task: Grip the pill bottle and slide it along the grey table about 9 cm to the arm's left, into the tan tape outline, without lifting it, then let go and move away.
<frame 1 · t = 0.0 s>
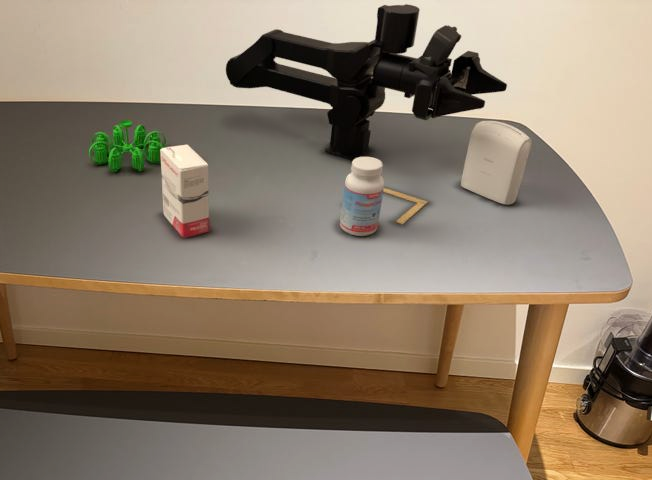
hand: (495, 95, 119), 17 cm above the table, tool horizontal, fingers open, 9 cm apart
tape outline: (384, 206, 125), on the table
pill bottle: (358, 228, 120), on the table
ink box: (186, 224, 121), on the table
chandelier: (128, 159, 139), on the table
photo printer: (487, 194, 129), on the table
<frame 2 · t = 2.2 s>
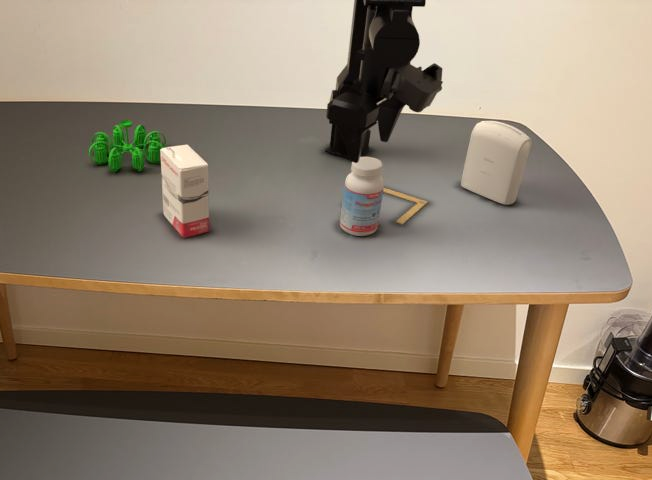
hand: (369, 151, 111), 13 cm above the table, tool pointing down, fingers open, 9 cm apart
nothing on the table moved.
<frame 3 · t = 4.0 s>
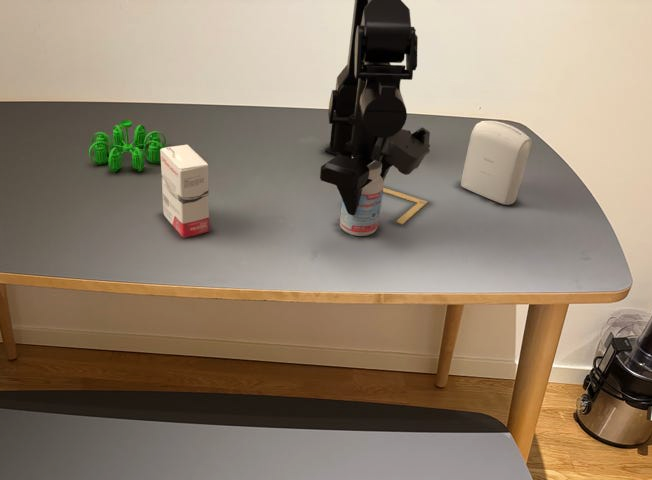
hand: (361, 206, 117), 4 cm above the table, tool pointing down, fingers closed on pill bottle, 6 cm apart
pill bottle: (358, 228, 120), on the table, touching gripper
everything else where it was.
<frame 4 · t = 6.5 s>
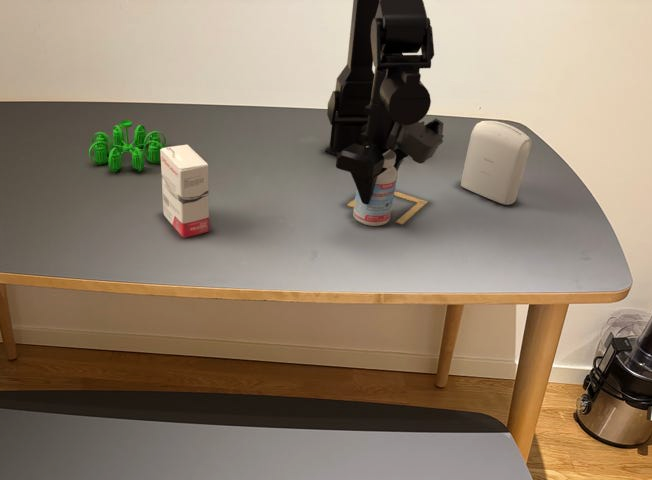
hand: (375, 196, 119), 4 cm above the table, tool pointing down, fingers closed on pill bottle, 6 cm apart
pill bottle: (371, 219, 122), on the table, touching gripper
everything else where it was.
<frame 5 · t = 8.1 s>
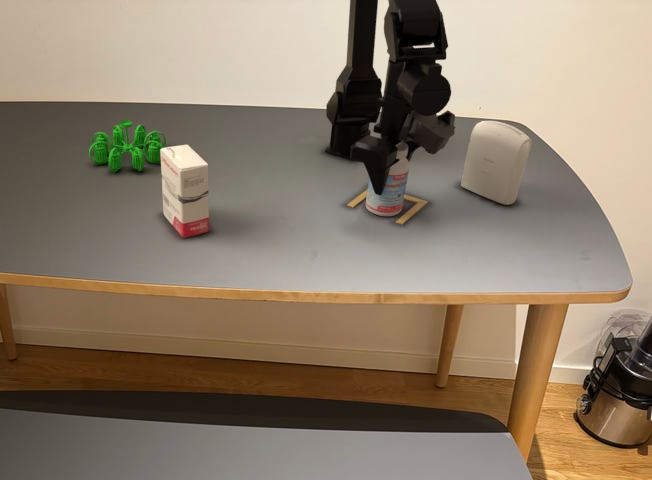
hand: (387, 187, 122), 4 cm above the table, tool pointing down, fingers closed on pill bottle, 6 cm apart
pill bottle: (383, 209, 124), on the table, touching gripper
everything else where it was.
when the fingers open (4 cm above the table, at t = 9.4 s): pill bottle stays where it is, on the table.
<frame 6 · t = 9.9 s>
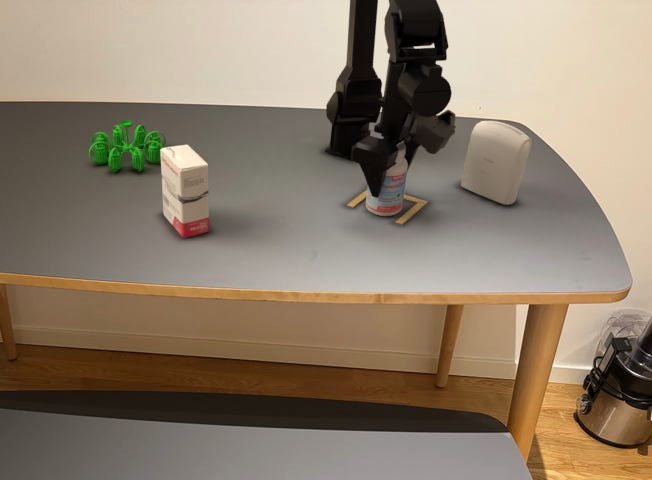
hand: (388, 186, 122), 4 cm above the table, tool pointing down, fingers open, 9 cm apart
pill bottle: (383, 208, 124), on the table, touching gripper
everything else where it was.
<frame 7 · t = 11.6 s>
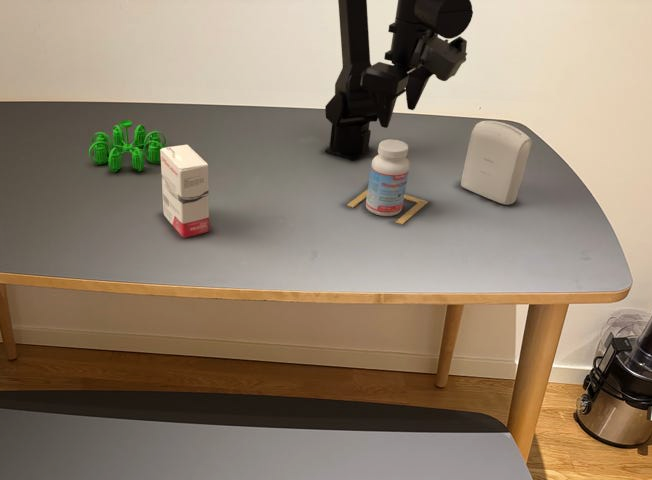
hand: (398, 118, 122), 13 cm above the table, tool pointing down, fingers open, 9 cm apart
pill bottle: (383, 209, 124), on the table
everything else where it was.
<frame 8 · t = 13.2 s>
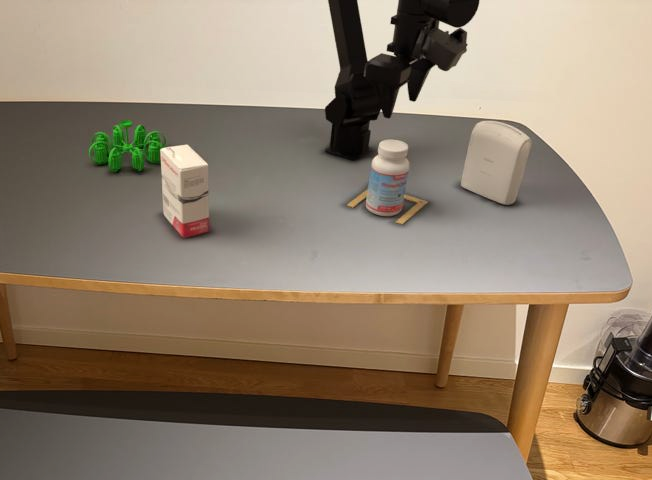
hand: (400, 109, 124), 13 cm above the table, tool pointing down, fingers open, 9 cm apart
nothing on the table moved.
at the end: pill bottle 0.4 cm from the target spot, on the table; pill bottle tilted 0°; the gripper is holding nothing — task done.
